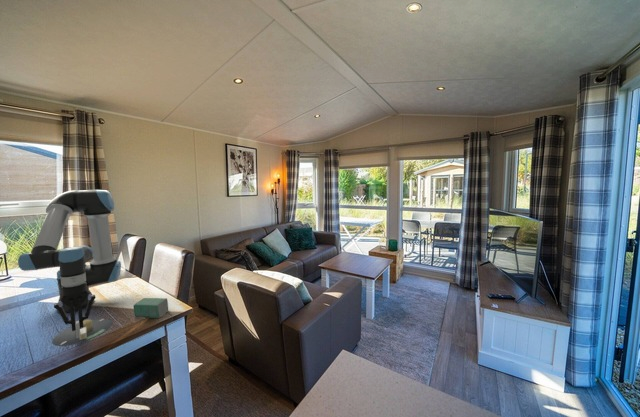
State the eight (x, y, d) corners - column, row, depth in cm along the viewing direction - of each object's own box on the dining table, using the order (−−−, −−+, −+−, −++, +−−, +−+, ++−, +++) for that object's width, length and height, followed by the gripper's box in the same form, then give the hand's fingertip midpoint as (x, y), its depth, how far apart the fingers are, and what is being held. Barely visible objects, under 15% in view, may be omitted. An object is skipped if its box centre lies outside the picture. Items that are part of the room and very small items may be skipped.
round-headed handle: (75, 330, 113) (74, 322, 113) (92, 325, 117) (91, 317, 117) (73, 345, 104) (72, 336, 103) (92, 338, 108) (91, 330, 107)
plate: (38, 347, 104) (37, 344, 104) (86, 320, 124) (85, 317, 124) (82, 349, 103) (81, 346, 102) (123, 321, 122) (123, 318, 122)
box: (145, 310, 133) (143, 297, 132) (169, 311, 133) (167, 297, 132) (134, 318, 126) (132, 304, 125) (159, 318, 125) (158, 305, 124)
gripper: (51, 291, 97) (56, 347, 99) (94, 282, 106) (98, 334, 108) (52, 285, 102) (57, 338, 105) (93, 277, 111) (97, 326, 114)
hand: (78, 336), depth 106 cm, fingers closed
